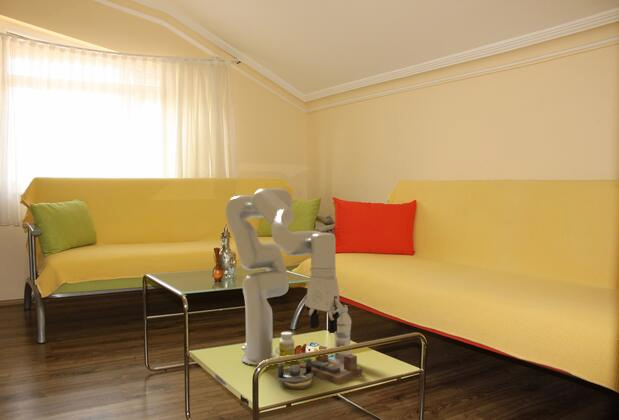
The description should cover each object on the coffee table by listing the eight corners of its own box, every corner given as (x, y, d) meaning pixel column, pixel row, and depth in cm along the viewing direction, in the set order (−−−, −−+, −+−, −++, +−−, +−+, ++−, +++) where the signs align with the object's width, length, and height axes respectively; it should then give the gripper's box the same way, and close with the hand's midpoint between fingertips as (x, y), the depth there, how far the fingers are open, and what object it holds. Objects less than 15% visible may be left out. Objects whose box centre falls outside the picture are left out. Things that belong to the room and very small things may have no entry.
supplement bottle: (277, 358, 193) (277, 331, 193) (292, 357, 195) (292, 330, 194) (281, 363, 188) (281, 335, 188) (296, 361, 190) (296, 334, 189)
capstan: (269, 382, 168) (268, 362, 168) (295, 373, 176) (295, 354, 176) (294, 392, 160) (294, 371, 159) (321, 382, 168) (321, 362, 168)
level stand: (298, 370, 180) (298, 351, 180) (322, 362, 189) (322, 344, 188) (337, 384, 167) (337, 364, 167) (362, 374, 176) (362, 355, 176)
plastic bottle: (352, 365, 185) (352, 308, 184) (333, 365, 185) (333, 308, 185) (351, 359, 192) (351, 304, 191) (332, 359, 192) (332, 304, 191)
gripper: (295, 271, 168) (295, 327, 169) (336, 277, 156) (336, 337, 156) (311, 268, 173) (312, 322, 174) (352, 274, 161) (353, 332, 162)
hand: (323, 329), depth 165 cm, fingers open, 7 cm apart
